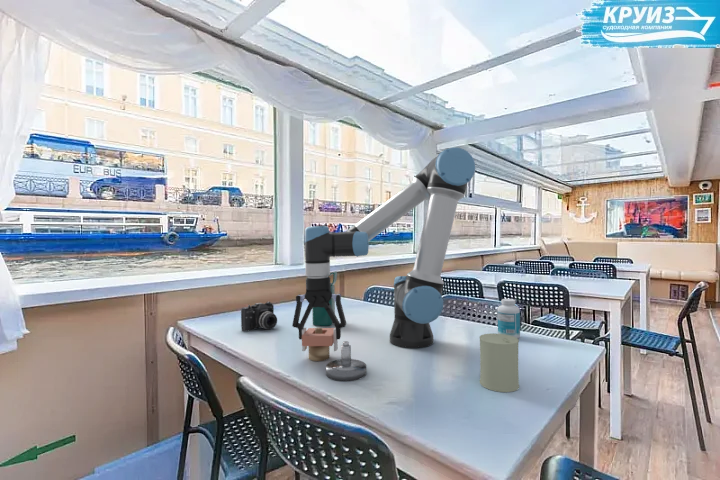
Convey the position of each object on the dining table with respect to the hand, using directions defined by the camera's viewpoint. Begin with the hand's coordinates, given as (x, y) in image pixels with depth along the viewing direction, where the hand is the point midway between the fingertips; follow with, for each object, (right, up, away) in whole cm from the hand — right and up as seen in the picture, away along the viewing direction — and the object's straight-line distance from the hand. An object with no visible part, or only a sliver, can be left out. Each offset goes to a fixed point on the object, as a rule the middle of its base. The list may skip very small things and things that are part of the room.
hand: (320, 349), depth 113 cm
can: (+47, -2, -21) cm, 52 cm away
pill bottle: (+66, -1, +19) cm, 68 cm away
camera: (-28, -2, +36) cm, 45 cm away
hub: (+8, -3, -13) cm, 16 cm away
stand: (0, -2, 0) cm, 3 cm away
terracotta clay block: (0, +3, 0) cm, 3 cm away
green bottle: (-2, -2, +42) cm, 42 cm away
